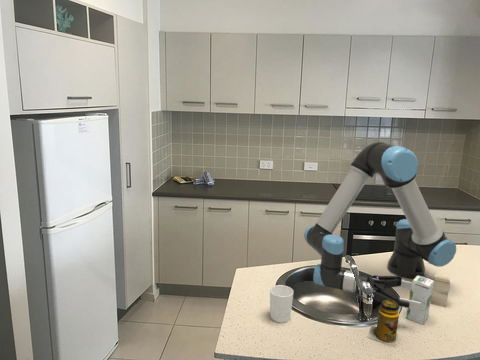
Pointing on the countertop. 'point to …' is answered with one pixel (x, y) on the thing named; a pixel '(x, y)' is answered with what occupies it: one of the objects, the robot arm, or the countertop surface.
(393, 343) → the condiment
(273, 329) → the countertop surface
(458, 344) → the countertop surface
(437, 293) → the beige block
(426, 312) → the syrup box
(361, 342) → the countertop surface
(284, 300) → the white cup
